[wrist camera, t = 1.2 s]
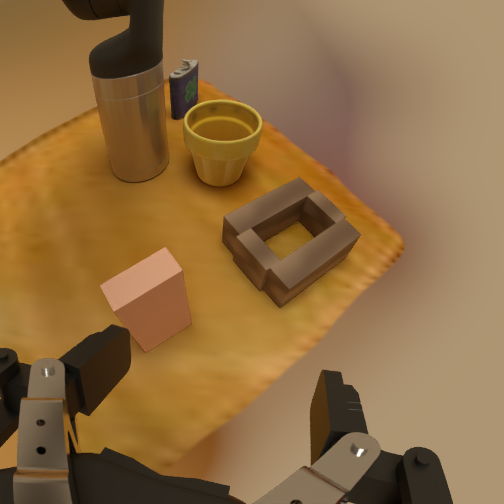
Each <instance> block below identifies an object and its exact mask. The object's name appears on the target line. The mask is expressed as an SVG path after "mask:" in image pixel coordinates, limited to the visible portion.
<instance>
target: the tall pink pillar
mask: <svg viewBox="0 0 504 504" xmlns="http://www.w3.org/2000/svg"><path fill="white" fill-rule="evenodd" d="M100 287H101V289H102V291H103V293H104V295H105V296H106V298H107V300H108V302H109V304H110V306H111V308H112V309H113V311H114V313H115V314H116V315H117V317H118V318H119V319H120V321H121V322H122V323H123V325H124V326H125V327H126V328H127V329H128V330H129V332H130V334H131V335H132V336H133V337H134V339H135V340H136V341H137V342H138V343H139V345H140V346H141V347H142V348H143V350H144V351H145V352H148V351H150V350H151V349H153V348H154V347H156V346H158V345H159V344H161V343H162V342H164V341H165V340H167V339H169V338H170V337H172V336H173V335H175V334H176V333H178V332H179V331H181V330H183V329H184V328H186V327H187V326H189V325H190V324H192V322H191V316H190V311H189V305H188V300H187V294H186V288H185V282H184V276H183V270H182V269H181V267H180V266H179V265H178V263H177V262H176V261H175V259H174V258H173V256H172V255H171V254H170V252H169V251H168V249H167V248H166V247H165V248H163V249H161V250H159V251H158V252H156V253H154V254H152V255H151V256H149V257H147V258H145V259H144V260H142V261H140V262H139V263H137V264H135V265H133V266H132V267H130V268H128V269H127V270H125V271H123V272H121V273H120V274H118V275H116V276H115V277H113V278H111V279H110V280H108V281H106V282H105V283H103V284H101V285H100Z"/></svg>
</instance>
